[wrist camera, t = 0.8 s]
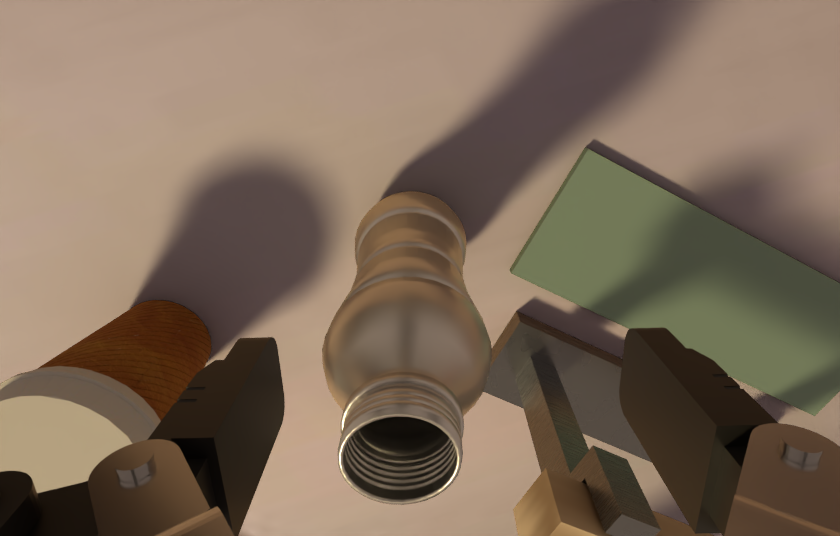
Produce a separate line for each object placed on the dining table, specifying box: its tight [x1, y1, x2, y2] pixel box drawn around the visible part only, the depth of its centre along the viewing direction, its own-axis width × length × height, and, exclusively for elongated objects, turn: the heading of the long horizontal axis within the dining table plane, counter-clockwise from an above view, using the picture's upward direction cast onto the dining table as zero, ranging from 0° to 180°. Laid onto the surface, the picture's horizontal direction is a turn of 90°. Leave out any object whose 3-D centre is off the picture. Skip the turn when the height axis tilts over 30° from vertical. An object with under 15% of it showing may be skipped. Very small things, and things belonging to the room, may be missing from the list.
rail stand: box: [483, 311, 661, 536], centre depth 32 cm, size 6×22×16 cm, turn 64°
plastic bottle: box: [322, 191, 492, 505], centre depth 24 cm, size 6×7×20 cm
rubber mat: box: [510, 147, 840, 416], centre depth 35 cm, size 9×26×1 cm, turn 64°
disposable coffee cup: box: [0, 300, 211, 493], centre depth 31 cm, size 10×10×12 cm
